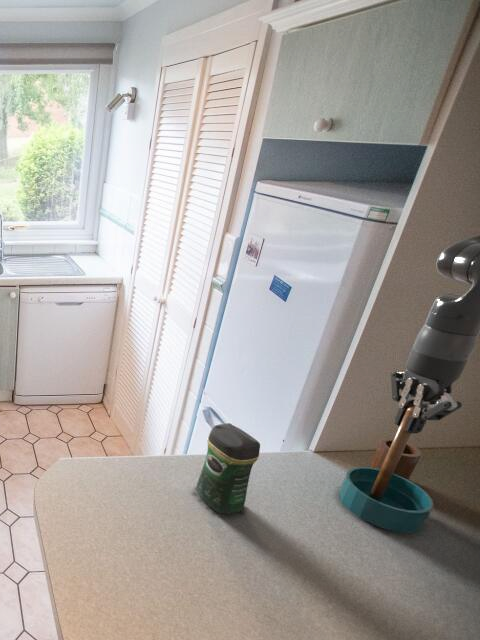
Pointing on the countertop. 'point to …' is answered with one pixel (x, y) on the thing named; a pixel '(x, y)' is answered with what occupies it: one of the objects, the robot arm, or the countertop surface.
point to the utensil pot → (405, 461)
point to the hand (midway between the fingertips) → (406, 428)
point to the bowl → (386, 501)
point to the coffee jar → (227, 468)
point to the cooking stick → (392, 458)
